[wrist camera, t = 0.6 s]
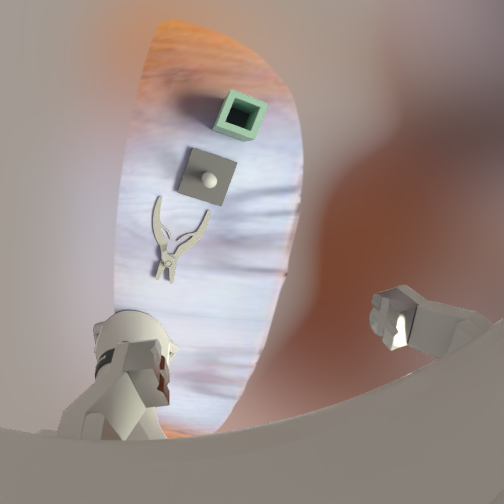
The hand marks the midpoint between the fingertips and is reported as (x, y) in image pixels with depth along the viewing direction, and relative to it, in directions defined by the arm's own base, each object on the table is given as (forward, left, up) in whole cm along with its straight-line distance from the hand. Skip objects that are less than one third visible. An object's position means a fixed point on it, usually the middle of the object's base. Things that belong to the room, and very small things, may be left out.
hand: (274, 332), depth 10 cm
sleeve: (+13, -1, -42) cm, 44 cm away
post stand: (+2, 0, -42) cm, 42 cm away
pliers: (-11, +2, -42) cm, 44 cm away
